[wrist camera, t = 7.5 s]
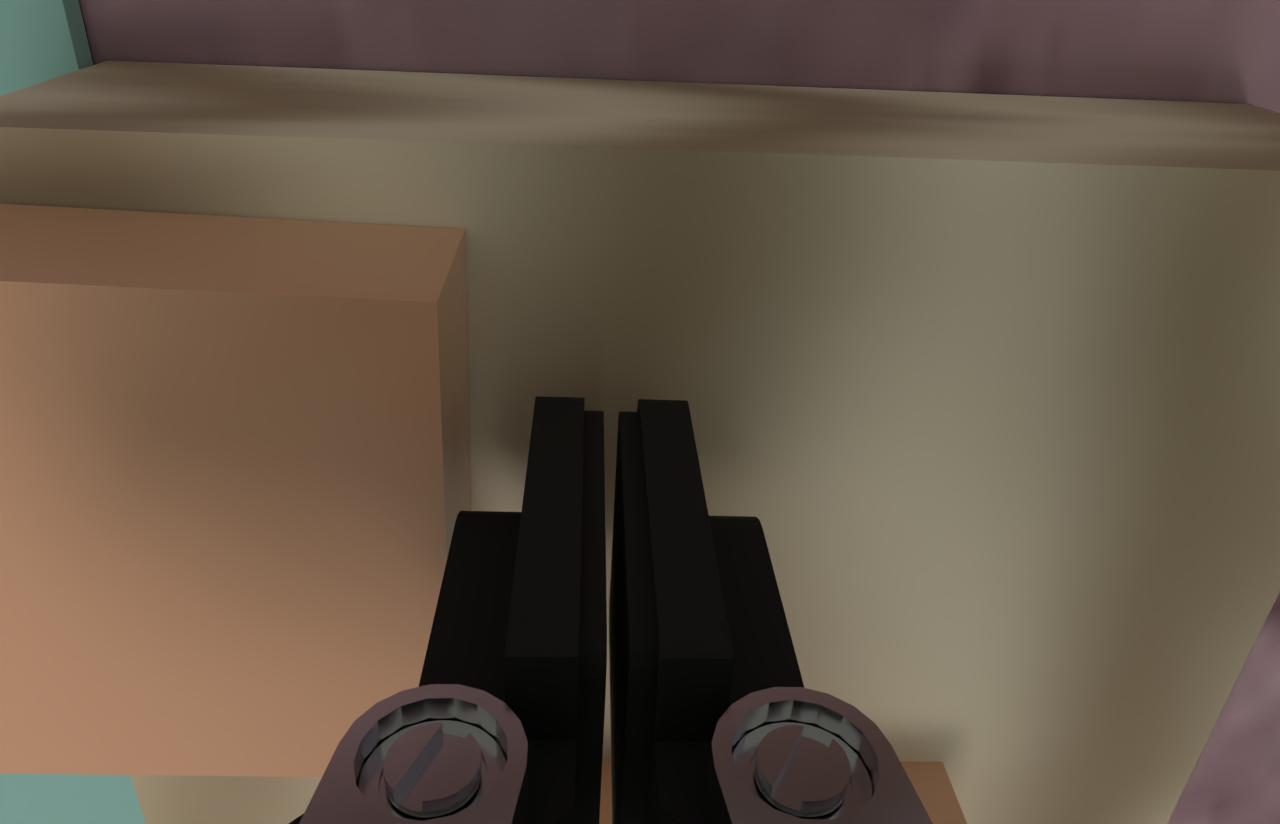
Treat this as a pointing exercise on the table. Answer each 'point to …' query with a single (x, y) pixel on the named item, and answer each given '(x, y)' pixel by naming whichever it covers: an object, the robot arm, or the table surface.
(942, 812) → the tile
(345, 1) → the table surface
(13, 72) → the rubber mat
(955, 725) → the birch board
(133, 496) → the tile
